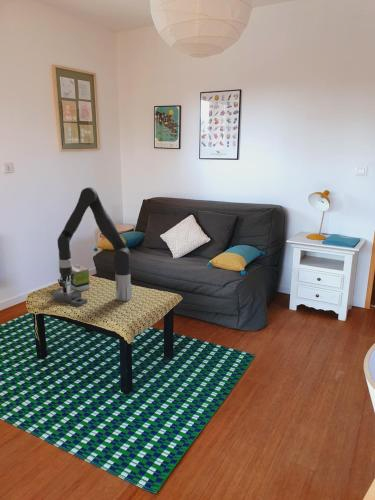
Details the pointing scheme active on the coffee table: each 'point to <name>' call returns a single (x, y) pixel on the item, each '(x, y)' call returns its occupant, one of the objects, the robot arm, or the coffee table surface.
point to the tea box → (80, 278)
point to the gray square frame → (78, 302)
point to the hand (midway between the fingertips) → (66, 291)
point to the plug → (68, 286)
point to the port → (66, 295)
